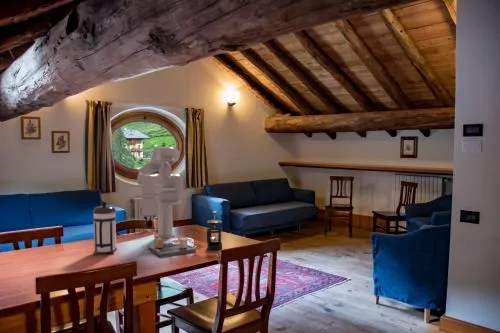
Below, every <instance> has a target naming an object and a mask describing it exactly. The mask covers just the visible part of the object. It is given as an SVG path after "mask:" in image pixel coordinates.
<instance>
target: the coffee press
mask: <svg viewBox="0 0 500 333" xmlns="http://www.w3.org/2000/svg"><path fill="white" fill-rule="evenodd" d="M101 204H102V205H99V206H96V207H94V209H93V211H92V213H93V219H92V220H93V243H94V244H93V245H94V246H93V247H94V251H93V255H95V256H98V254H99V253H109V254H110V255H111V256H112V255H114V254H115V252H114V251H117V250H118V249H117V238H116V236H117V234H116V232H117V231H116V228H117V227H116V226H117V225H116V220H117V217H116V211H117V209H116V208H115V207H114V206H112V205H107V202H106V201H103V202H102V203H101Z"/></svg>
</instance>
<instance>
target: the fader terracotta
mask: <svg viewBox="0 0 500 333" xmlns="http://www.w3.org/2000/svg"><path fill="white" fill-rule="evenodd" d="M163 244H164V238H159V237H156V238H155V246H156V247H157V248H162V247H163Z"/></svg>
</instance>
